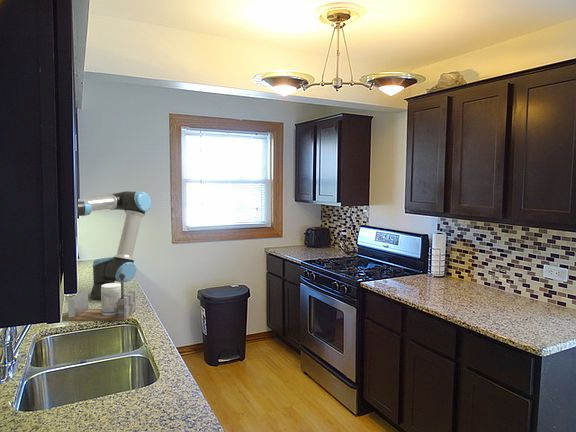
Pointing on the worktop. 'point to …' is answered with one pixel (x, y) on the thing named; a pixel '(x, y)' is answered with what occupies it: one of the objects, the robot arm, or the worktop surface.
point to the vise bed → (95, 316)
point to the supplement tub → (110, 298)
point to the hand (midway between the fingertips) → (62, 274)
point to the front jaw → (77, 304)
